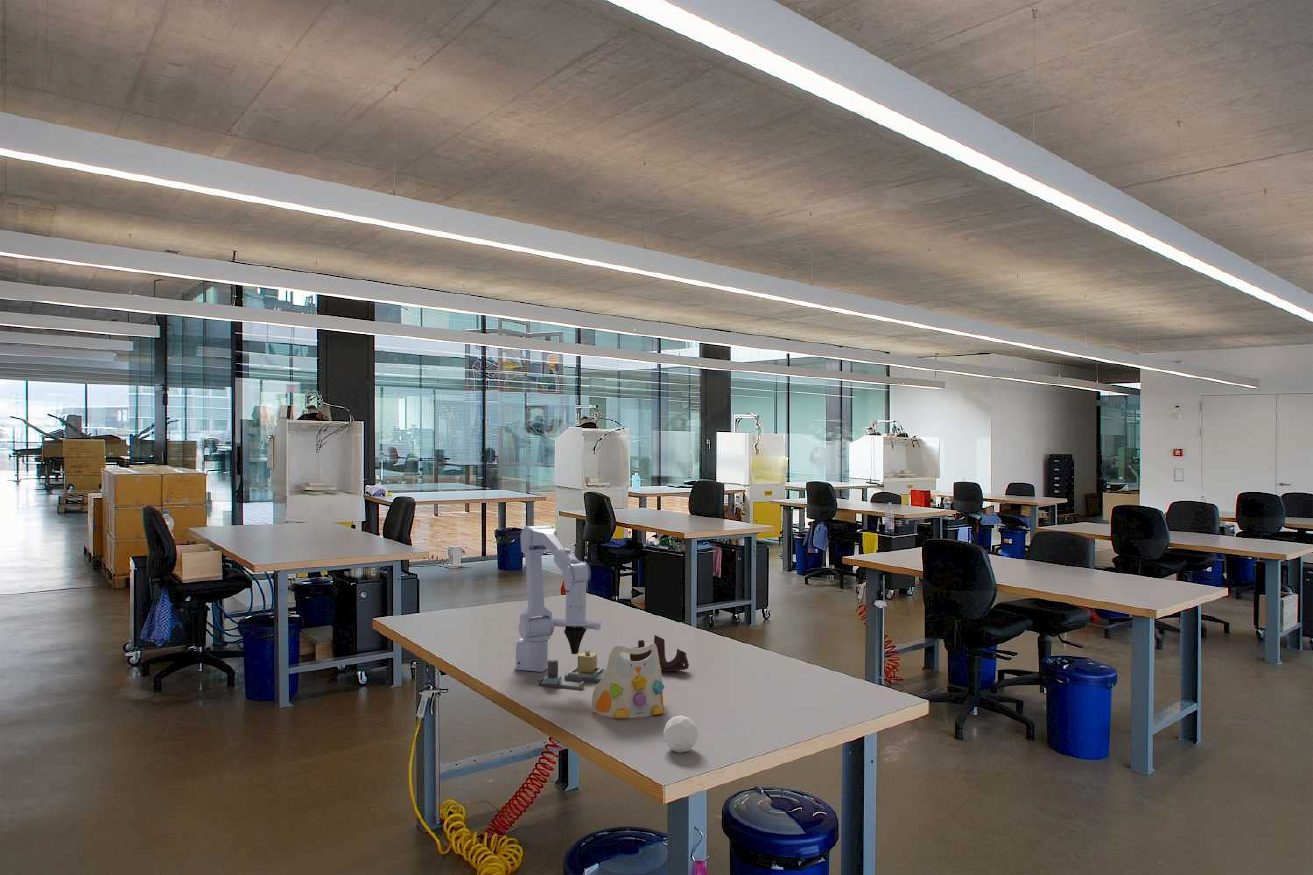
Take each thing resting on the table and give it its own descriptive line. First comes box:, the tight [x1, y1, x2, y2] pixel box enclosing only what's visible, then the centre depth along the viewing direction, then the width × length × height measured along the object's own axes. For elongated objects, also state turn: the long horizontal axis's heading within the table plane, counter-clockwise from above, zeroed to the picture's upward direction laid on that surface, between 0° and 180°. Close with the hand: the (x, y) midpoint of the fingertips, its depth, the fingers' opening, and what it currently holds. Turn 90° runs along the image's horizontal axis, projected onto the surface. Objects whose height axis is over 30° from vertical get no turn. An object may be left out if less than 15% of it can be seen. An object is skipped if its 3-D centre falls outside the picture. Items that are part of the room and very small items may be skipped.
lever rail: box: [538, 677, 585, 690], centre depth 226 cm, size 13×2×2 cm, turn 75°
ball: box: [662, 714, 699, 754], centre depth 179 cm, size 8×8×8 cm
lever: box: [543, 659, 562, 684], centre depth 227 cm, size 4×3×6 cm
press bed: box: [564, 665, 607, 684], centre depth 236 cm, size 14×10×7 cm
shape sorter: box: [591, 642, 665, 719], centre depth 205 cm, size 20×10×18 cm, turn 113°
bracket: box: [629, 634, 690, 672], centre depth 246 cm, size 6×18×11 cm, turn 70°
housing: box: [577, 649, 598, 674], centre depth 236 cm, size 4×4×7 cm
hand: (574, 653), depth 225 cm, fingers closed
